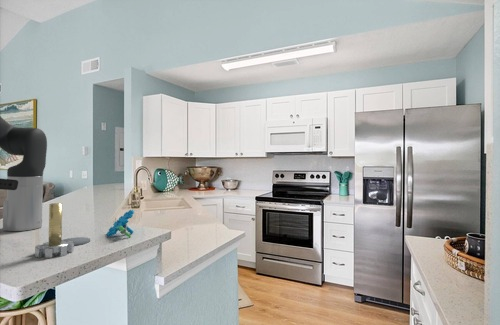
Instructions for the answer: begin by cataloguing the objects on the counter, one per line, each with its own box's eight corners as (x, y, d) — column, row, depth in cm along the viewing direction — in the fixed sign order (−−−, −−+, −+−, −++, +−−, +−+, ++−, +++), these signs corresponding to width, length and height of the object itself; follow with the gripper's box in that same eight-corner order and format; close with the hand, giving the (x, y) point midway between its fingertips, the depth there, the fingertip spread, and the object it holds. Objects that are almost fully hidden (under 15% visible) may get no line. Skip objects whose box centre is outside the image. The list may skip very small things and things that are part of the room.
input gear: (28, 259, 63) (29, 206, 63) (42, 249, 70) (43, 202, 70) (67, 256, 65) (68, 205, 65) (77, 247, 72) (78, 201, 72)
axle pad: (51, 247, 71) (51, 246, 71) (62, 239, 79) (62, 238, 79) (86, 245, 74) (86, 244, 74) (93, 237, 82) (93, 236, 82)
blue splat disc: (106, 226, 88) (131, 204, 90) (120, 238, 91) (144, 216, 92) (102, 240, 78) (130, 215, 80) (118, 252, 80) (145, 228, 82)
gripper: (-98, 152, 46) (24, 167, 58) (-96, 157, 55) (9, 169, 67) (-110, 198, 45) (17, 203, 57) (-106, 195, 54) (2, 200, 66)
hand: (12, 185), depth 62 cm, fingers open, 8 cm apart
